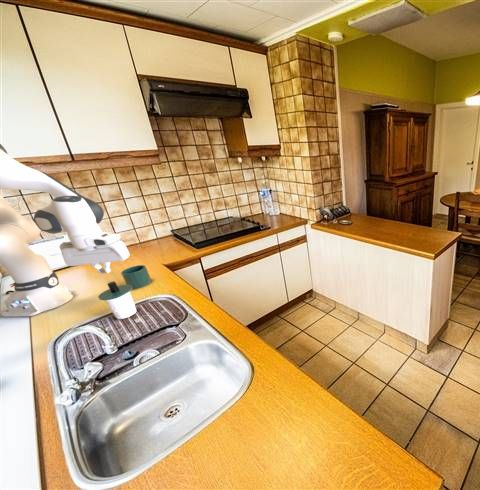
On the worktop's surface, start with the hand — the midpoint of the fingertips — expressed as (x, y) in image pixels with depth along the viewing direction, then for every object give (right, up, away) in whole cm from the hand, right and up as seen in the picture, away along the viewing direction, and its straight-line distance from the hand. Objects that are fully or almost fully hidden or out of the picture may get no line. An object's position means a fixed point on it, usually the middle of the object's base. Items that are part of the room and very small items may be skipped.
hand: (105, 272), depth 103 cm
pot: (-14, -9, +31) cm, 35 cm away
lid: (0, -9, +4) cm, 10 cm away
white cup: (+1, -19, +8) cm, 20 cm away
